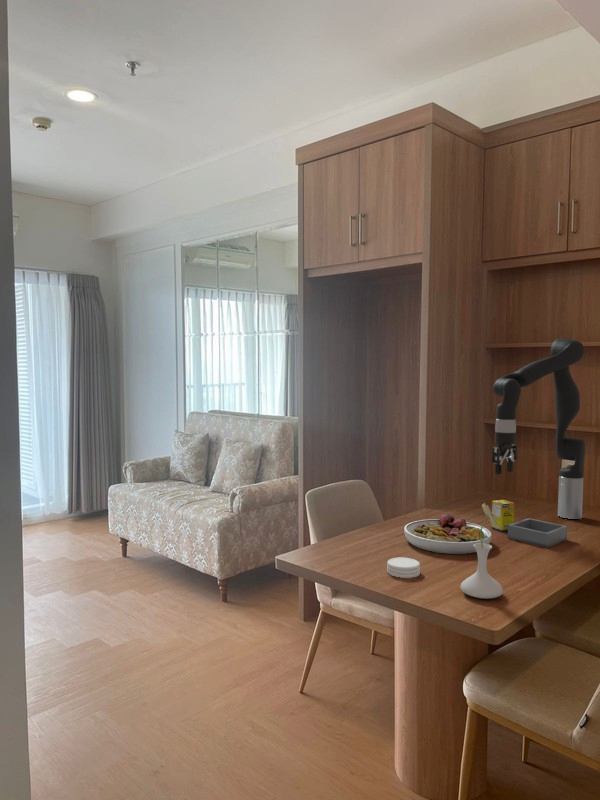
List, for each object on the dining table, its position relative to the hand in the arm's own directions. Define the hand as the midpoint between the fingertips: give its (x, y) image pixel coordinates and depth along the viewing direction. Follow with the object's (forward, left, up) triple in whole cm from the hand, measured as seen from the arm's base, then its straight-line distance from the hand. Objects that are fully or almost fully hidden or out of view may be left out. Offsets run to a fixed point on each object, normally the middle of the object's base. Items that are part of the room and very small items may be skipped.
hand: (504, 473), depth 234 cm
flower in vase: (+64, +30, -22) cm, 74 cm away
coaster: (+67, +5, -22) cm, 71 cm away
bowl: (+31, -4, -23) cm, 39 cm away
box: (+2, +15, -22) cm, 27 cm away
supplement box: (0, 0, -22) cm, 22 cm away
